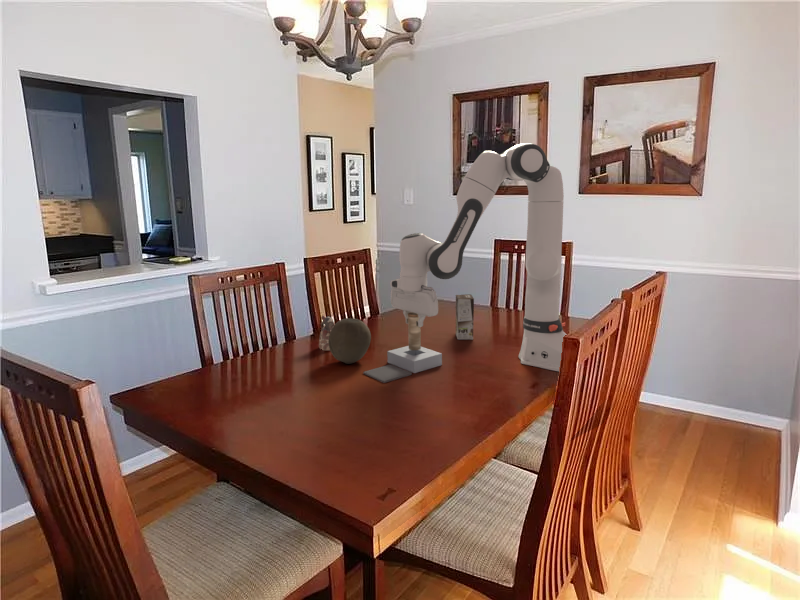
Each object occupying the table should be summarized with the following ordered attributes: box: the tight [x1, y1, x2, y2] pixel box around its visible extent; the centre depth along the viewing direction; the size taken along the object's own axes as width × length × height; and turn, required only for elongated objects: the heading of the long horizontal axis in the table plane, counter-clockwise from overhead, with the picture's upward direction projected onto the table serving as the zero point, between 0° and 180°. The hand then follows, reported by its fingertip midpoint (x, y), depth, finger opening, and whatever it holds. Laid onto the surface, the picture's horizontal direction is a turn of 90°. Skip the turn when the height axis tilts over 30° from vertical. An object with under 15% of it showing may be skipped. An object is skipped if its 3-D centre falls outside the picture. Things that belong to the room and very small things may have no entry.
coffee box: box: [455, 293, 475, 340], centre depth 209 cm, size 9×6×16 cm
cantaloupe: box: [329, 317, 372, 365], centre depth 181 cm, size 14×14×15 cm
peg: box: [407, 312, 422, 350], centre depth 177 cm, size 4×4×12 cm
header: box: [386, 345, 443, 374], centre depth 179 cm, size 14×12×4 cm
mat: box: [362, 363, 413, 384], centre depth 170 cm, size 11×11×1 cm
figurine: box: [318, 315, 335, 351], centre depth 198 cm, size 7×7×12 cm
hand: (414, 324), depth 177 cm, fingers closed on peg, 4 cm apart
